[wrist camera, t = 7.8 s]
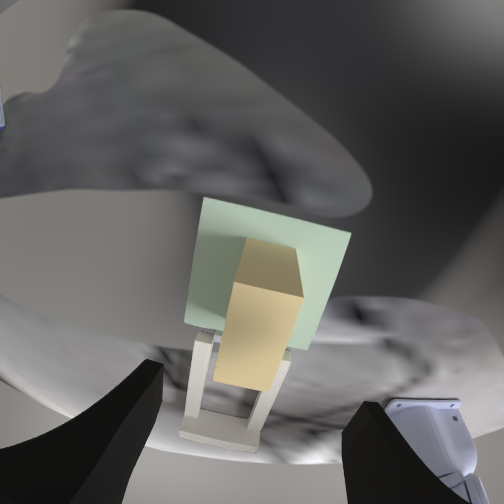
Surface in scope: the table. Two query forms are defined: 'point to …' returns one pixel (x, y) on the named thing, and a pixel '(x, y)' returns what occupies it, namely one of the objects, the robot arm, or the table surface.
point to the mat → (229, 255)
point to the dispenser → (220, 425)
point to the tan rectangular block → (259, 315)
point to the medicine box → (1, 112)
